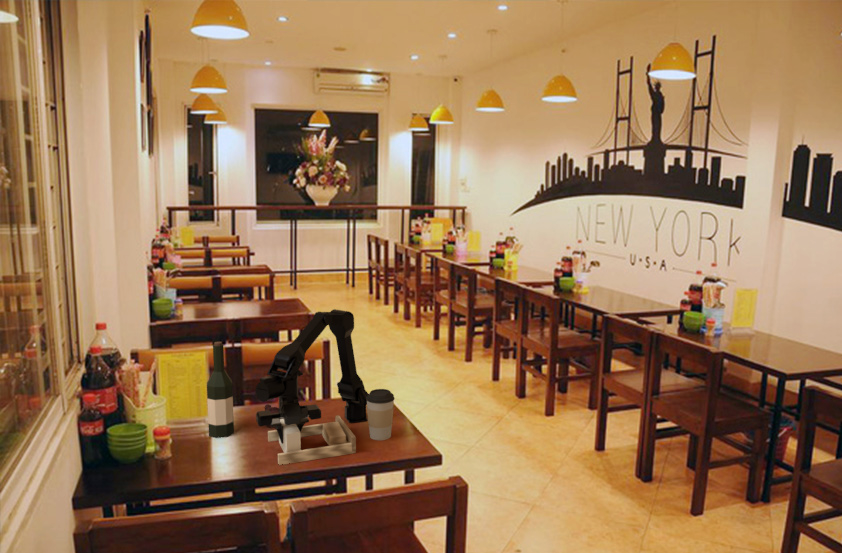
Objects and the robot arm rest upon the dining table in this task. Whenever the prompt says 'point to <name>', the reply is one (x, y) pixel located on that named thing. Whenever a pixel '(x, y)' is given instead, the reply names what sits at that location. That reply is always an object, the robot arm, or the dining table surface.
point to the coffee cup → (380, 413)
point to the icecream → (271, 410)
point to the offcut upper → (334, 433)
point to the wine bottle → (220, 397)
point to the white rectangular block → (290, 437)
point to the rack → (320, 451)
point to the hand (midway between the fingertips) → (289, 442)
